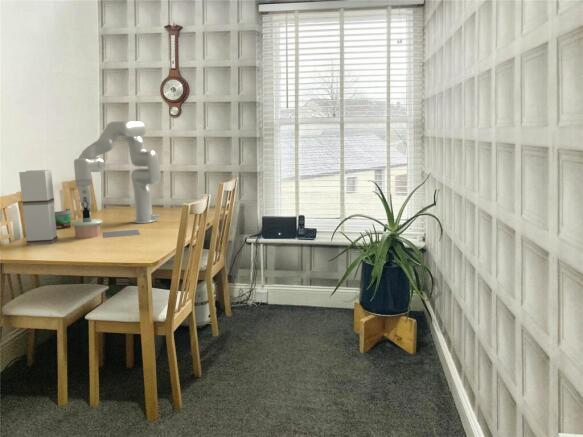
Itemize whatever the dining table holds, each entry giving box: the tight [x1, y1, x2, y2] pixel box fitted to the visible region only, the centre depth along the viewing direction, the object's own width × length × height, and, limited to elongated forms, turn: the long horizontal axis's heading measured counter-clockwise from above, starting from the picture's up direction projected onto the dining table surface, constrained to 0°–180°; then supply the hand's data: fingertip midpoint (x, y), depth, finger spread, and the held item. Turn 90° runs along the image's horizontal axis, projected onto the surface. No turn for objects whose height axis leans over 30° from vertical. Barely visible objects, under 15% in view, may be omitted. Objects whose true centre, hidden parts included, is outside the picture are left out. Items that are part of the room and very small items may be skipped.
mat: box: [102, 229, 141, 239], centre depth 275 cm, size 18×16×1 cm
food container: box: [55, 208, 72, 230], centre depth 299 cm, size 12×6×10 cm, turn 168°
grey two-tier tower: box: [18, 169, 59, 246], centre depth 257 cm, size 11×11×35 cm
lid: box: [71, 210, 104, 227], centre depth 269 cm, size 15×15×6 cm
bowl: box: [74, 224, 102, 239], centre depth 270 cm, size 12×12×7 cm
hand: (86, 216), depth 269 cm, fingers open, 9 cm apart
